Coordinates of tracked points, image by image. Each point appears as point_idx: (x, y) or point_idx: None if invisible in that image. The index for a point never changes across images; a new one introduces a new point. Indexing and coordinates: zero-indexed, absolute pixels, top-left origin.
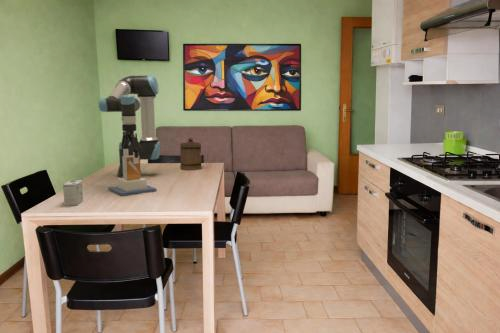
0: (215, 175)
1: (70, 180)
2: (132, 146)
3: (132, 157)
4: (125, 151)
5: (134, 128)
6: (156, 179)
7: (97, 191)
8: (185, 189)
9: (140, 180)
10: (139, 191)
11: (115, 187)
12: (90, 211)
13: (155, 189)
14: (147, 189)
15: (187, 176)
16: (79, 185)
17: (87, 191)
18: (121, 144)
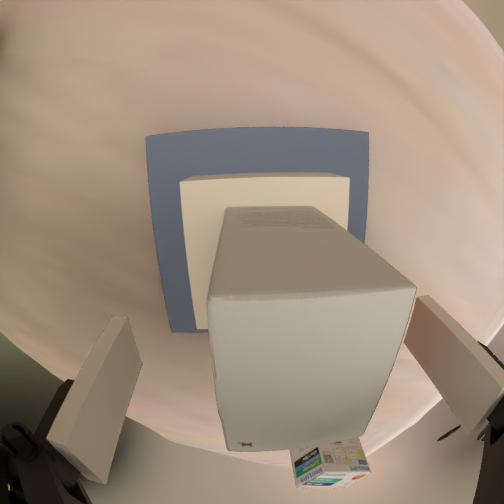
0: None
1: (300, 486)
2: (488, 490)
3: (383, 384)
4: (101, 439)
5: None
6: (56, 35)
7: (181, 363)
8: (395, 18)
9: (347, 223)
10: (363, 235)
11: (192, 307)
12: (427, 401)
13: (367, 138)
14: (360, 184)
15: None
16: (351, 464)
17: (162, 385)
18: (19, 502)
